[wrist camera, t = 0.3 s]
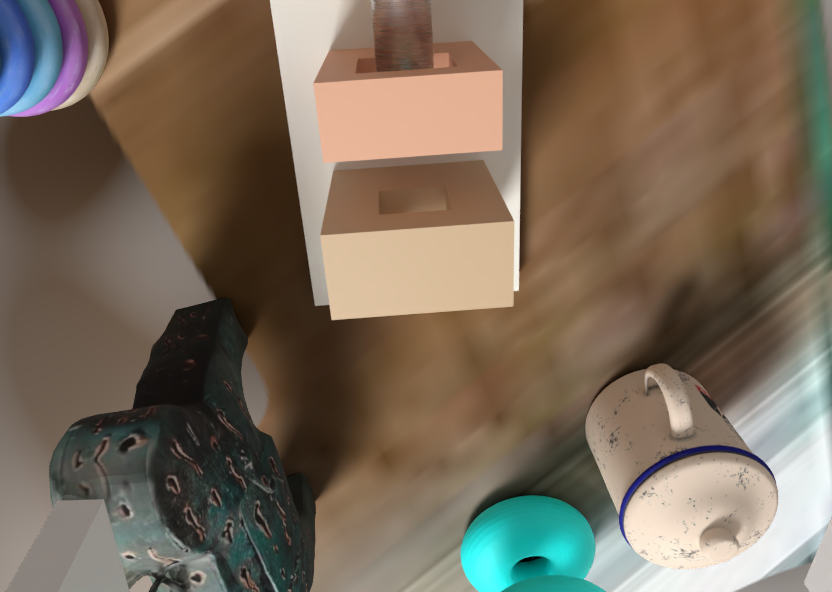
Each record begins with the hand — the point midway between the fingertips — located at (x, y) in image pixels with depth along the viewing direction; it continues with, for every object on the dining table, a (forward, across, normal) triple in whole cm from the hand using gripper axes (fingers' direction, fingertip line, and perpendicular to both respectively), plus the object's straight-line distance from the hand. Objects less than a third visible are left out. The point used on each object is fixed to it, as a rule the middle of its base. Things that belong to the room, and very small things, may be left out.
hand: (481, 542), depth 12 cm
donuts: (+27, +9, -30) cm, 42 cm away
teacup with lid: (+27, +16, -18) cm, 36 cm away
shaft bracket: (+27, -1, +5) cm, 28 cm away
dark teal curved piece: (+28, -10, -18) cm, 34 cm away
